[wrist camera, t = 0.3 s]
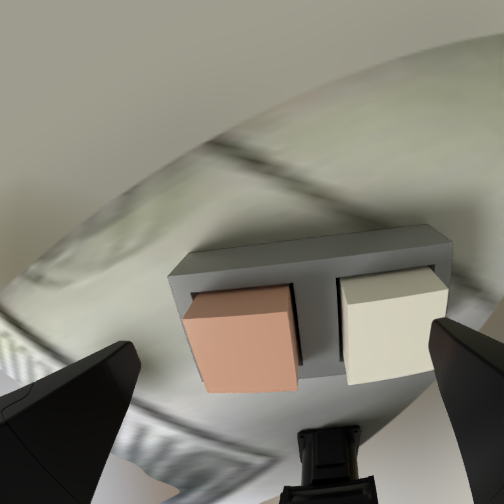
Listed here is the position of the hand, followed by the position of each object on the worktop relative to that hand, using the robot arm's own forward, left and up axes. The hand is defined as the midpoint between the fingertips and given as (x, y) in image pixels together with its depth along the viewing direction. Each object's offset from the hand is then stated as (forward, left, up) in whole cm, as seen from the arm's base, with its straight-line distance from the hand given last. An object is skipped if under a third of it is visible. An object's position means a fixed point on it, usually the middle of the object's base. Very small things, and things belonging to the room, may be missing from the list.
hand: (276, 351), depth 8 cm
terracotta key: (-5, +3, -11) cm, 12 cm away
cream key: (-5, -6, -11) cm, 13 cm away
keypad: (-5, -1, -13) cm, 14 cm away
